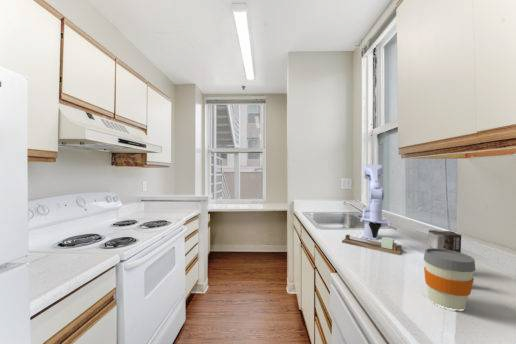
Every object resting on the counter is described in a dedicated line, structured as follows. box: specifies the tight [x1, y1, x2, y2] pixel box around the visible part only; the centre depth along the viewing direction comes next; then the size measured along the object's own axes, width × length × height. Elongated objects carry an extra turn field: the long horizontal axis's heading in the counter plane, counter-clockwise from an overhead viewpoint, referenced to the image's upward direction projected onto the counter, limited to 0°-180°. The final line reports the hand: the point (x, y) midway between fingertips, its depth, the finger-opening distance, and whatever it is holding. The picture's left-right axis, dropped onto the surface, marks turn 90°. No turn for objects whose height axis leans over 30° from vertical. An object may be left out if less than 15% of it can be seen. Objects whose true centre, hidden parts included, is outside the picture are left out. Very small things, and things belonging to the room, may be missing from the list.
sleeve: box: [381, 236, 395, 249], centre depth 126 cm, size 4×5×4 cm
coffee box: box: [427, 229, 462, 253], centre depth 100 cm, size 9×6×16 cm
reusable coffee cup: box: [423, 248, 476, 310], centre depth 76 cm, size 13×13×15 cm
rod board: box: [341, 234, 404, 256], centre depth 131 cm, size 9×28×4 cm, turn 51°
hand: (374, 237), depth 130 cm, fingers closed
